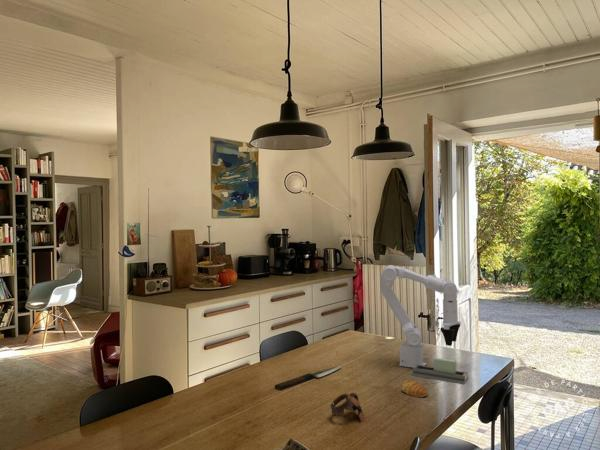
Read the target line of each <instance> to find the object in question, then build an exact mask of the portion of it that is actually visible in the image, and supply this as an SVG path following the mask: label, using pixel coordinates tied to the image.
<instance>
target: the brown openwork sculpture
mask: <svg viewBox="0 0 600 450" xmlns="http://www.w3.org/2000/svg"><path fill="white" fill-rule="evenodd" d="M344 400H345V401H344ZM341 401H344V402H343V403H341V404H339V403H340V402H341ZM338 404H339V405H338ZM330 409H331V415H332V416H333V417H334V416H340V415H341V416H343V417H345V410H346V411H351V412H352V411H353V412H356V411H357V414H358V418H359V421H360V423H363V421H364V418H365V416H364V415H365V414H364V413H363V409H362V407H361V404H360V402H359V396H358V395H357V393H355V392H352V393H343V394H340V395H338V396H337V397H336V398H334V399H333V400H332V403H331V404H330Z"/></svg>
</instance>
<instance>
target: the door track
mask: <svg viewBox="0 0 600 450" xmlns="http://www.w3.org/2000/svg"><path fill="white" fill-rule="evenodd" d="M468 374H469V373H468V372H465V371H459V370H456V374H451V373H445V372H438V371H434V366H433V367H432V366H427V365H425V366H422V365H416V366H415V367H414V368H412V372H411V376H413V377H420V378H425V379H429V380H437V381H443V382H448V383H454V384H460V385H465V383H466V382H467V381H468V379H469V375H468Z"/></svg>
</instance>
